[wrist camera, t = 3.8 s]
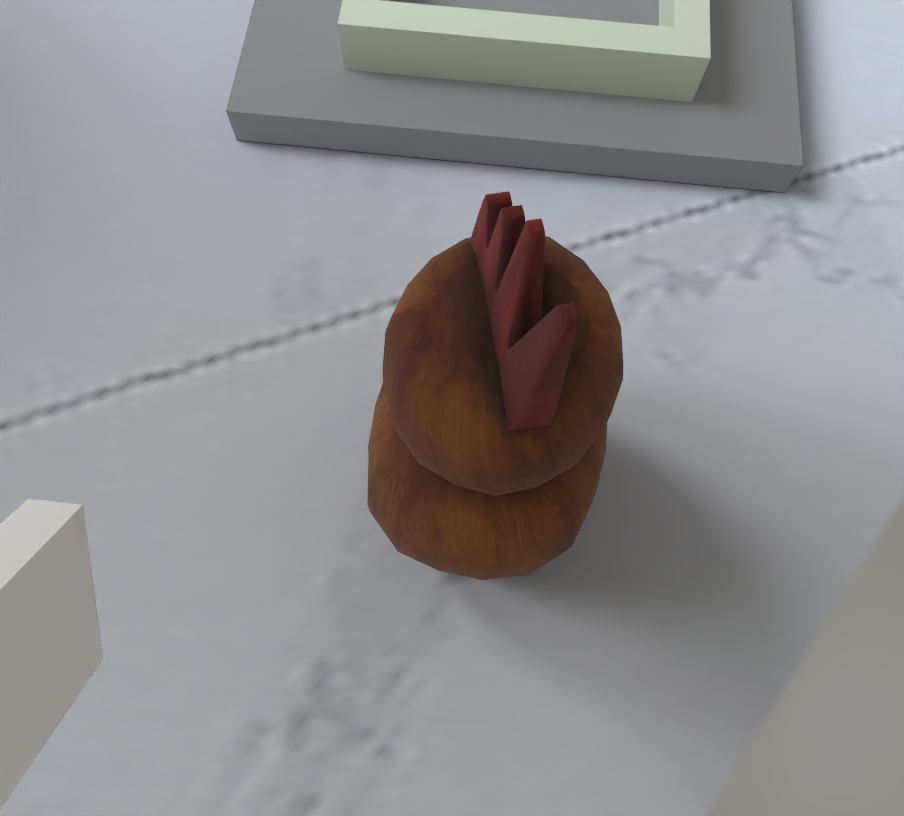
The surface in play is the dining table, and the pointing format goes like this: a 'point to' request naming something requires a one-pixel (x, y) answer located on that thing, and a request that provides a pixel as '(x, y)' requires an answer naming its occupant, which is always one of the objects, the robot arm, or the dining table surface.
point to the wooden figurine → (494, 401)
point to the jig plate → (532, 84)
